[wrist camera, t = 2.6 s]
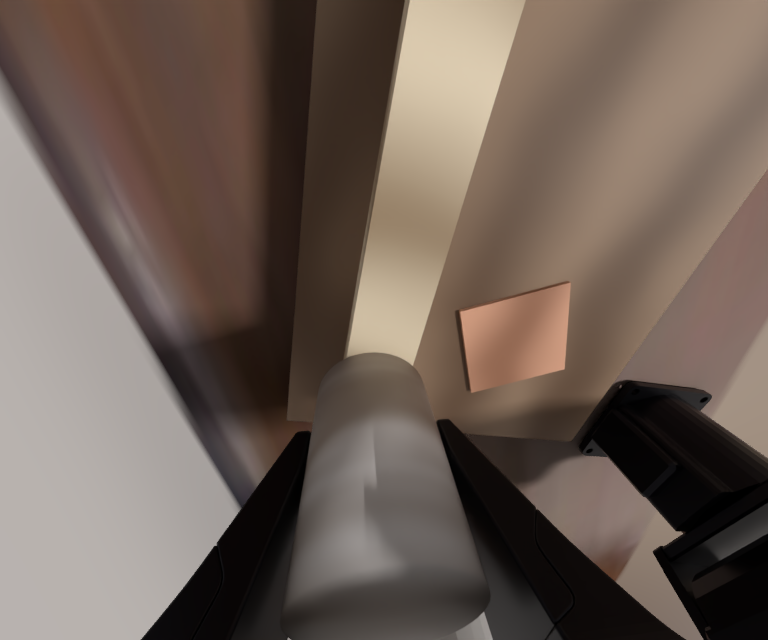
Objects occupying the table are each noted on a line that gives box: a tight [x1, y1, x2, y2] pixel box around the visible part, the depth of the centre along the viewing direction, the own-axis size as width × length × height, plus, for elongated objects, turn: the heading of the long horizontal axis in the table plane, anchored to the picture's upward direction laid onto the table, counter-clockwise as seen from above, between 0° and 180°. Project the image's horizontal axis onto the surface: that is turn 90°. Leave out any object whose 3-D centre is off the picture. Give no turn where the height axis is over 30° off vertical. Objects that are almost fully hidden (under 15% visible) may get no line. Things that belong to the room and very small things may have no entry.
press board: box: [287, 0, 768, 442], centre depth 11 cm, size 18×25×2 cm
